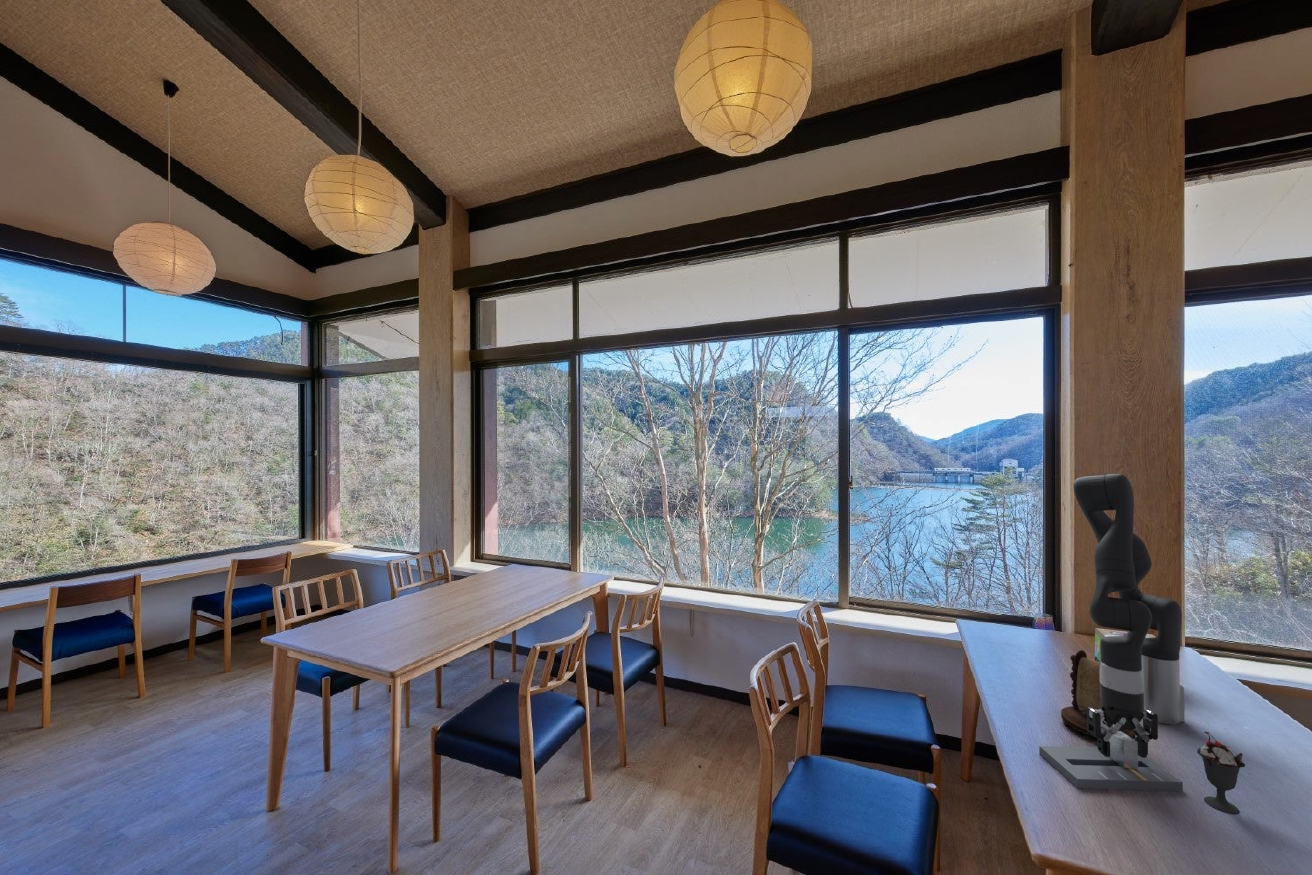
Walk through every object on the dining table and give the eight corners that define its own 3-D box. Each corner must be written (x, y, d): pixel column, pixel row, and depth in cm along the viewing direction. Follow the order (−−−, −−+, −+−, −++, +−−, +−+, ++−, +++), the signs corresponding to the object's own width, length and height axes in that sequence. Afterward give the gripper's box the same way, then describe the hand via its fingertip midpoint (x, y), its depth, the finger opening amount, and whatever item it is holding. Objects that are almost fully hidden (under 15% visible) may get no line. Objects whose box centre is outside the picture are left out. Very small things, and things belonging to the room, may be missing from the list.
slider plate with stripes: (1134, 756, 121) (1133, 747, 121) (1182, 791, 109) (1182, 781, 109) (1039, 754, 123) (1039, 745, 123) (1077, 787, 111) (1077, 778, 111)
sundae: (1188, 795, 108) (1187, 726, 108) (1216, 793, 108) (1215, 724, 109) (1225, 818, 101) (1224, 744, 101) (1255, 815, 102) (1253, 742, 102)
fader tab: (1121, 762, 118) (1120, 730, 118) (1138, 774, 113) (1137, 741, 113) (1108, 761, 118) (1107, 730, 118) (1124, 774, 114) (1123, 741, 114)
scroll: (1049, 722, 136) (1047, 649, 136) (1080, 710, 142) (1079, 640, 142) (1116, 753, 122) (1114, 672, 123) (1147, 738, 128) (1146, 661, 128)
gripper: (1139, 677, 119) (1140, 746, 119) (1076, 676, 120) (1077, 744, 120) (1169, 693, 112) (1170, 766, 111) (1102, 691, 113) (1103, 764, 112)
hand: (1122, 755), depth 116 cm, fingers open, 7 cm apart
